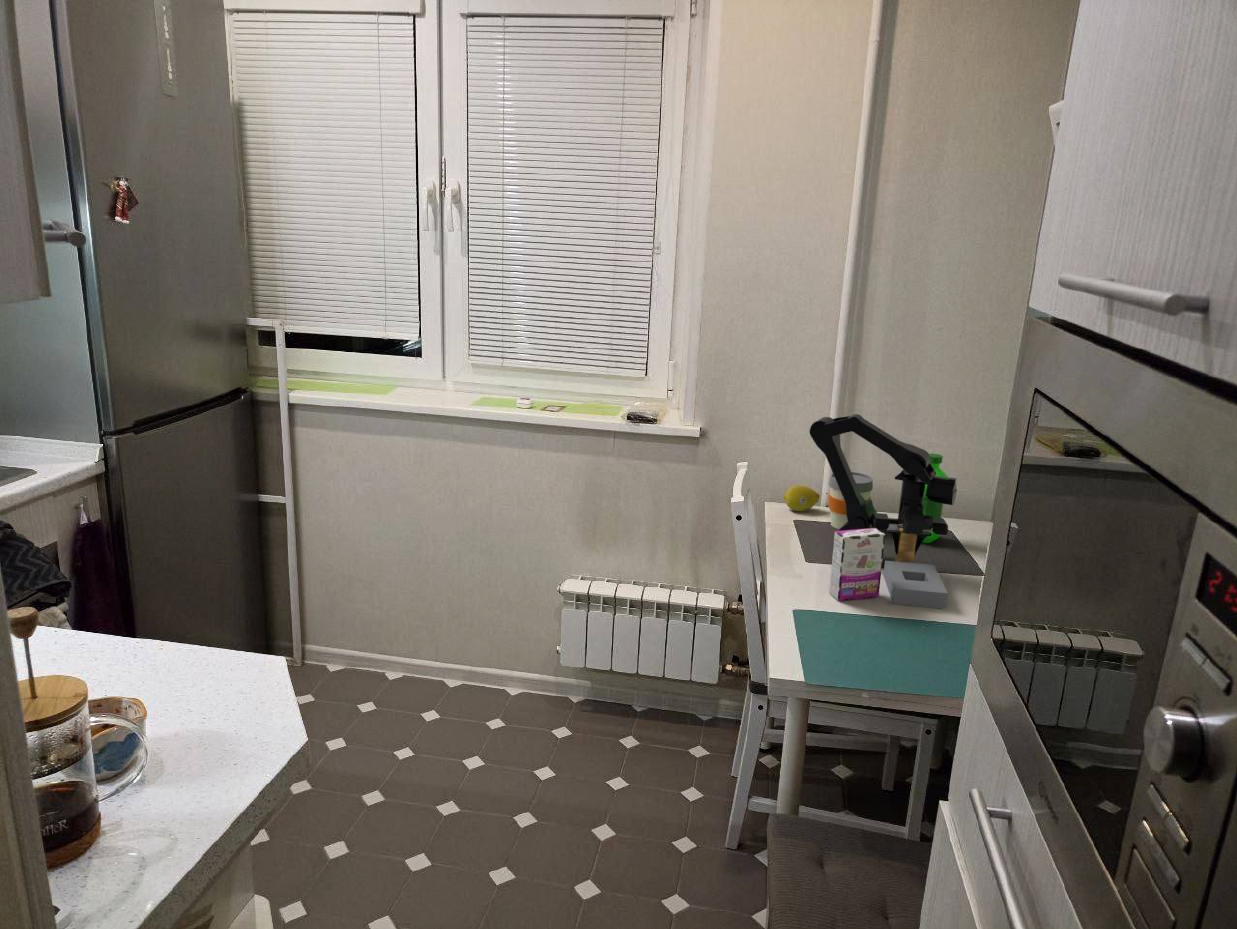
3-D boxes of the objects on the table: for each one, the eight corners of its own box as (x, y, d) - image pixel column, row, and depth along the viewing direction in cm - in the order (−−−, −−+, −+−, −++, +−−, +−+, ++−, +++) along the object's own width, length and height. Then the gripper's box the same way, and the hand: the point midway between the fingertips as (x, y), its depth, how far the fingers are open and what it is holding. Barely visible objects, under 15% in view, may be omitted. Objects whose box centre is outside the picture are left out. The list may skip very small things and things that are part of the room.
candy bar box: (868, 589, 222) (875, 527, 218) (879, 598, 218) (886, 534, 213) (827, 593, 219) (834, 529, 215) (837, 601, 215) (844, 537, 210)
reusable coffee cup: (816, 520, 271) (821, 472, 267) (853, 517, 275) (858, 470, 271) (838, 534, 260) (843, 484, 256) (876, 531, 264) (882, 482, 260)
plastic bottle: (914, 530, 265) (925, 448, 258) (948, 540, 258) (960, 456, 251) (898, 538, 258) (908, 454, 251) (932, 548, 251) (944, 462, 244)
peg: (896, 569, 236) (901, 533, 233) (894, 563, 240) (898, 528, 237) (912, 570, 235) (917, 534, 233) (909, 564, 239) (914, 529, 236)
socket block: (893, 604, 214) (895, 588, 213) (883, 575, 232) (885, 560, 230) (945, 608, 213) (947, 593, 212) (931, 579, 230) (933, 564, 229)
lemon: (781, 512, 278) (783, 487, 275) (784, 504, 285) (786, 480, 283) (816, 516, 275) (819, 491, 273) (818, 509, 282) (821, 484, 280)
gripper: (878, 504, 226) (872, 562, 230) (956, 510, 223) (947, 569, 228) (873, 491, 236) (867, 547, 241) (947, 497, 234) (939, 553, 238)
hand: (904, 554), depth 236 cm, fingers closed on peg, 4 cm apart
